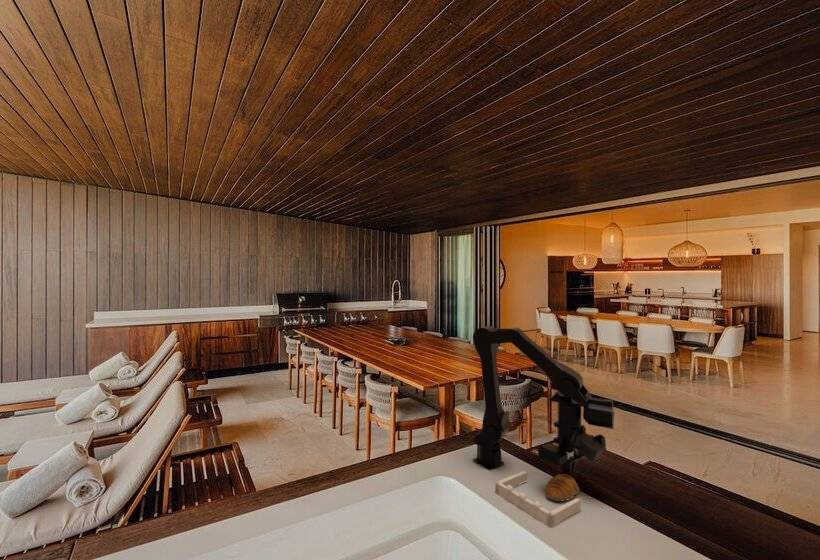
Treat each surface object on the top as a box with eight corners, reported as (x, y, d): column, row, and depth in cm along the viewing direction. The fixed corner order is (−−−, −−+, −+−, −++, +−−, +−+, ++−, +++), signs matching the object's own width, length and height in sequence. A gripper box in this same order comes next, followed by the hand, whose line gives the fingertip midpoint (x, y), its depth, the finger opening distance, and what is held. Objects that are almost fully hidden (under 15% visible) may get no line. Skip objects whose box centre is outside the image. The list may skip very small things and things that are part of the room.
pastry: (564, 508, 89) (565, 491, 89) (537, 496, 93) (538, 480, 93) (581, 493, 95) (581, 478, 95) (554, 482, 100) (555, 468, 100)
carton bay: (494, 492, 94) (494, 479, 94) (524, 480, 101) (524, 467, 101) (550, 528, 81) (550, 512, 81) (580, 510, 88) (580, 496, 88)
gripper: (578, 439, 87) (576, 507, 87) (618, 422, 97) (617, 483, 97) (536, 423, 96) (535, 485, 96) (578, 410, 107) (577, 465, 106)
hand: (568, 480), depth 99 cm, fingers closed
